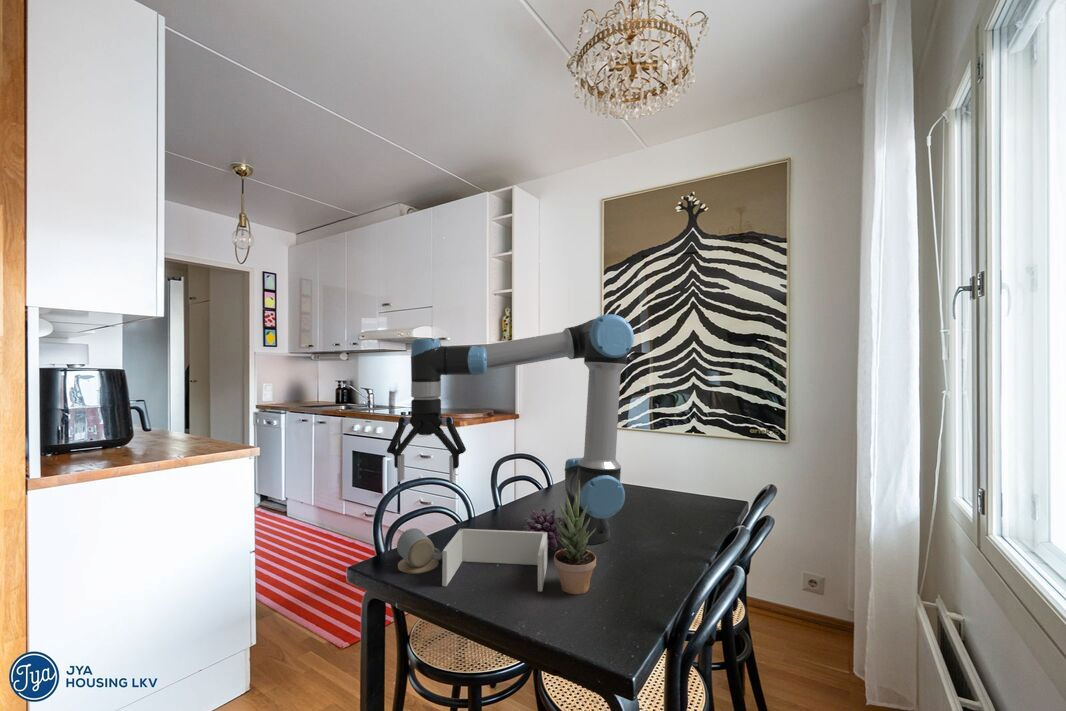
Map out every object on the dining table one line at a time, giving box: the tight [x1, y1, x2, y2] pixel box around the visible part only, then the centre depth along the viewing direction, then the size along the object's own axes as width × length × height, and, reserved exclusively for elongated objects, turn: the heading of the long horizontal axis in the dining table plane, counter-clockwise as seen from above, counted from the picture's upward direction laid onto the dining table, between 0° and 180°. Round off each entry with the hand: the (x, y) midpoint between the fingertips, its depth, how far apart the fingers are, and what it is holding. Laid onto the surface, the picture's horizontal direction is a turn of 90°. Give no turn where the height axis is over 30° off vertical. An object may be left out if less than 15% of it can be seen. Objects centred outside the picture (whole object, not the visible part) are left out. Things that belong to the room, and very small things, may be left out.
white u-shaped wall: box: [441, 528, 548, 592], centre depth 113 cm, size 23×15×8 cm, turn 84°
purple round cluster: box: [521, 507, 563, 552], centre depth 127 cm, size 12×12×12 cm
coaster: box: [397, 558, 439, 575], centre depth 118 cm, size 10×10×1 cm
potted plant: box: [553, 480, 597, 595], centre depth 106 cm, size 10×10×25 cm
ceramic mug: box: [396, 527, 443, 567], centre depth 119 cm, size 11×8×8 cm
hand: (426, 480), depth 120 cm, fingers open, 13 cm apart
